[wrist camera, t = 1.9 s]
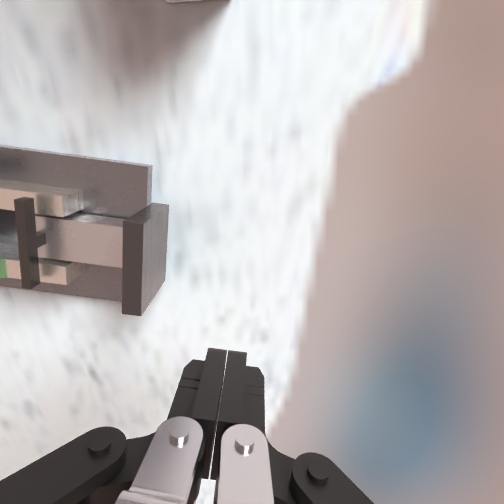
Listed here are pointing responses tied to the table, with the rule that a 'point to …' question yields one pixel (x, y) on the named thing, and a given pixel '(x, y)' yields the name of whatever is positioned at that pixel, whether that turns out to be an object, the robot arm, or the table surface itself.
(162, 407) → the table surface
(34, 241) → the plunger
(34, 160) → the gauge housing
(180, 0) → the medicine box
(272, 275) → the table surface
